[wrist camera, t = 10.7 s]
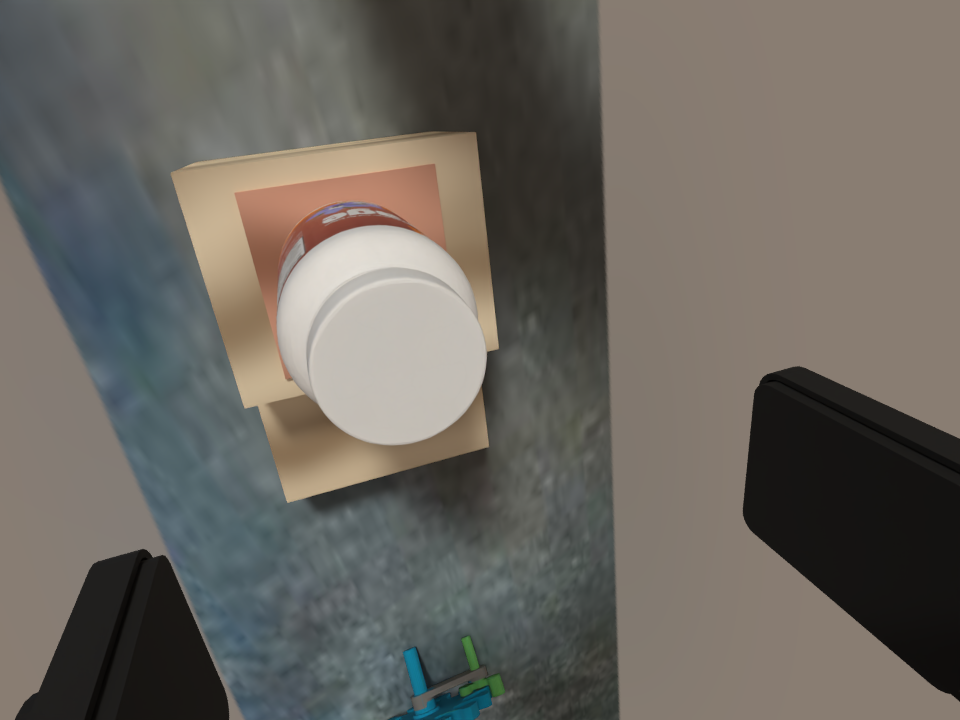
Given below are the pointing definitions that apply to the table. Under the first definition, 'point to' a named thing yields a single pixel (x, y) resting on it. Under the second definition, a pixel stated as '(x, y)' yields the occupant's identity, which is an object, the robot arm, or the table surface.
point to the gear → (444, 713)
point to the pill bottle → (377, 324)
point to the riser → (254, 280)
